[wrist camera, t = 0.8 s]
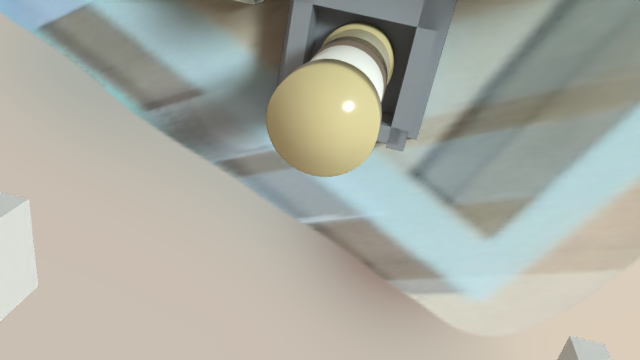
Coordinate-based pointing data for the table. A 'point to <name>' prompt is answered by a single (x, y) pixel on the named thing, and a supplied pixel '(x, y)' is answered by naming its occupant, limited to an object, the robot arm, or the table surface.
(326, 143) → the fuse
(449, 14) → the grey divided tray
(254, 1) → the parts tray
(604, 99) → the table surface
